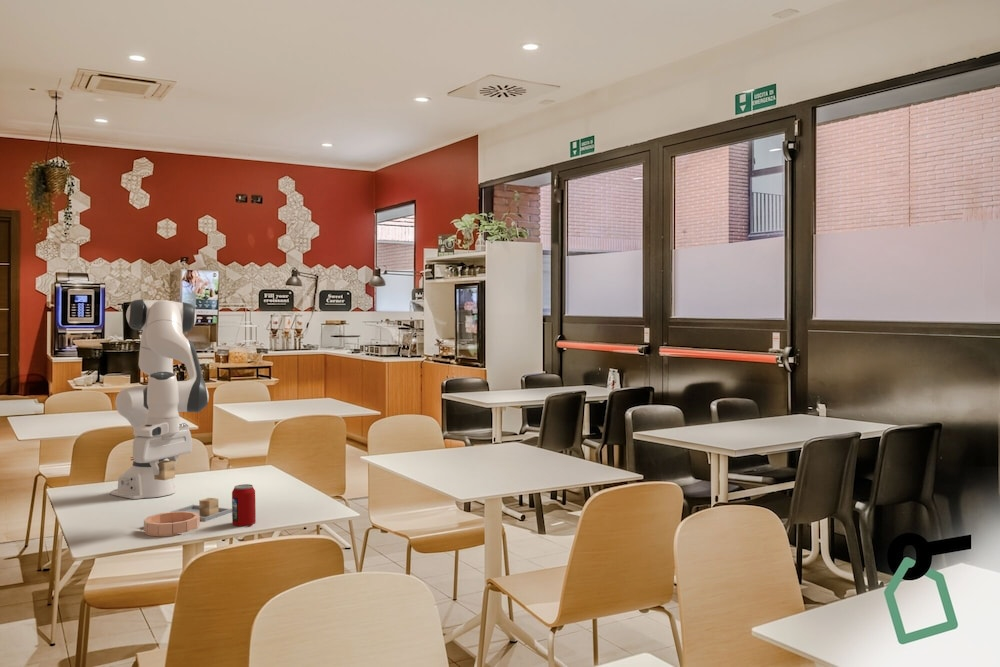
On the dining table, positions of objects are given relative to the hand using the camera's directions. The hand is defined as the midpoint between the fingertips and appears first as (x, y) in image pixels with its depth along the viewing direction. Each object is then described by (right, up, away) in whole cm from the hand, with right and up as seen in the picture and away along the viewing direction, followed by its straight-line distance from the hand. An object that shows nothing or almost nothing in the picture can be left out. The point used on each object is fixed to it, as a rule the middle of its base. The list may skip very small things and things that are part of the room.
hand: (164, 472), depth 242 cm
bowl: (+3, -17, -1) cm, 17 cm away
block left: (0, -2, 0) cm, 2 cm away
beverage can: (+23, -17, +4) cm, 28 cm away
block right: (+8, -16, +14) cm, 23 cm away
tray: (+5, -16, +15) cm, 23 cm away
